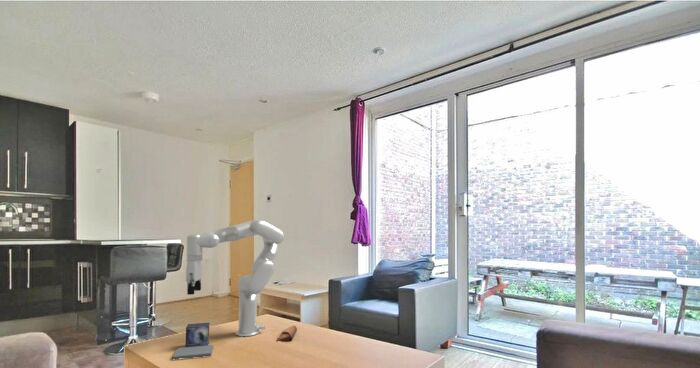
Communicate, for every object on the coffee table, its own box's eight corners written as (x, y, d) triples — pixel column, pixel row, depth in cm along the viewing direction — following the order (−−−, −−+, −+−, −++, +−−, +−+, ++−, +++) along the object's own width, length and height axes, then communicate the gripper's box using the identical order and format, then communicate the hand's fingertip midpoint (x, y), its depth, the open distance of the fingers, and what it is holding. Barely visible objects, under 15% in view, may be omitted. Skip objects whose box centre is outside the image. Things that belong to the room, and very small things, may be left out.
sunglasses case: (281, 331, 209) (287, 320, 209) (292, 337, 208) (298, 327, 209) (275, 341, 191) (282, 330, 191) (287, 348, 190) (294, 337, 191)
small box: (184, 349, 180) (185, 327, 181) (186, 345, 187) (187, 323, 188) (207, 347, 183) (208, 325, 184) (209, 343, 190) (209, 322, 191)
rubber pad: (213, 348, 182) (213, 344, 182) (210, 356, 171) (211, 353, 171) (177, 351, 178) (178, 348, 178) (172, 360, 167) (173, 356, 167)
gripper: (193, 257, 201) (192, 289, 199) (180, 260, 183) (180, 296, 182) (207, 256, 201) (207, 288, 200) (196, 260, 184) (195, 295, 183)
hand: (194, 292), depth 191 cm, fingers open, 9 cm apart
